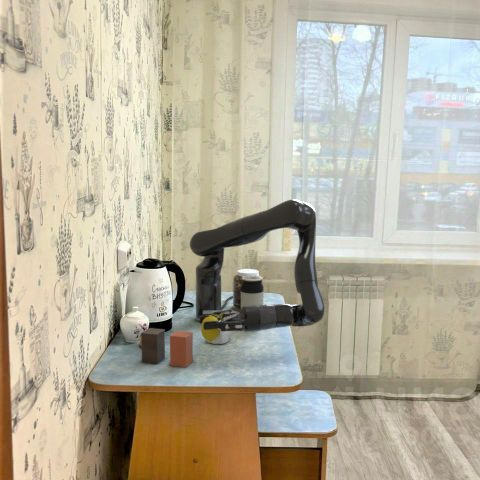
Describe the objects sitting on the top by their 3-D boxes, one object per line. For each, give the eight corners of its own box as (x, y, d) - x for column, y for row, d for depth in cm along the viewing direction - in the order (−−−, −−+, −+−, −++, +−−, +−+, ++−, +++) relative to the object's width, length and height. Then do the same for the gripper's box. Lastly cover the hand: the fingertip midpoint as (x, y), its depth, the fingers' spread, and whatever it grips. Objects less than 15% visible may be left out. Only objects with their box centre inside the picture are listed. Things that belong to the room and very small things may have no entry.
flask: (224, 345, 192) (224, 315, 190) (203, 343, 193) (203, 313, 192) (231, 338, 199) (232, 309, 197) (211, 336, 200) (211, 307, 199)
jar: (266, 305, 241) (266, 269, 238) (257, 313, 229) (258, 275, 227) (238, 303, 243) (238, 267, 241) (228, 310, 232) (228, 273, 230)
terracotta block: (177, 359, 178) (177, 330, 177) (192, 361, 177) (192, 332, 176) (170, 365, 174) (169, 335, 172) (186, 367, 173) (185, 337, 171)
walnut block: (149, 356, 180) (149, 328, 179) (164, 358, 179) (164, 329, 178) (141, 362, 176) (141, 332, 174) (157, 364, 175) (156, 334, 173)
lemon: (202, 339, 175) (201, 312, 174) (221, 338, 175) (220, 312, 174) (200, 345, 169) (200, 318, 168) (220, 345, 170) (219, 317, 169)
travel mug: (252, 331, 207) (253, 281, 204) (235, 327, 211) (236, 277, 208) (267, 326, 213) (268, 277, 210) (251, 322, 218) (251, 274, 215)
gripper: (252, 299, 182) (196, 303, 177) (265, 311, 169) (206, 317, 163) (252, 323, 184) (197, 328, 178) (265, 337, 170) (206, 343, 165)
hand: (201, 322), depth 171 cm, fingers closed on lemon, 5 cm apart
